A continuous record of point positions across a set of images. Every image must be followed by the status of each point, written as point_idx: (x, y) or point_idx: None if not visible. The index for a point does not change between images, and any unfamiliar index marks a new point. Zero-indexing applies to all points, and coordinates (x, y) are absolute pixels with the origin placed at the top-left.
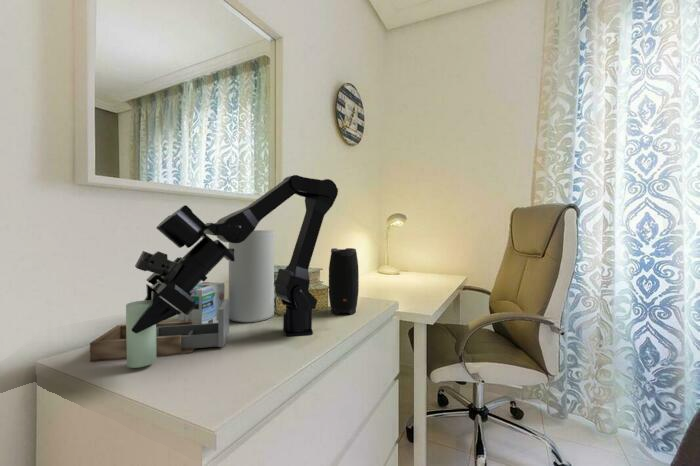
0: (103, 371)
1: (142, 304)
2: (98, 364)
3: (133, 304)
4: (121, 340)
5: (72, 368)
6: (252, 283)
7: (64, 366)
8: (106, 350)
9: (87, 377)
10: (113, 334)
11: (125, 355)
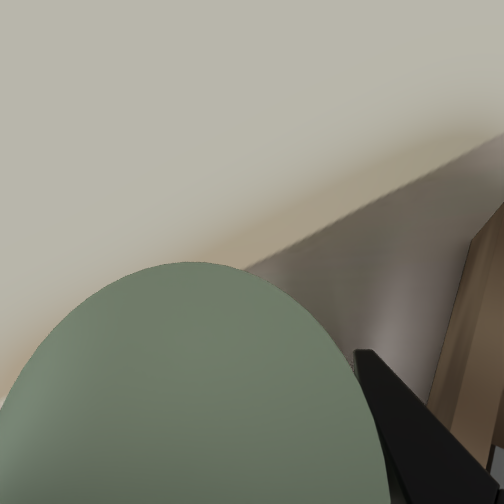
0: (330, 287)
1: (47, 462)
2: (420, 269)
3: (146, 345)
4: (481, 331)
5: (422, 200)
6: None
7: (459, 176)
8: (472, 278)
9: (304, 249)
10: None
11: (444, 360)
